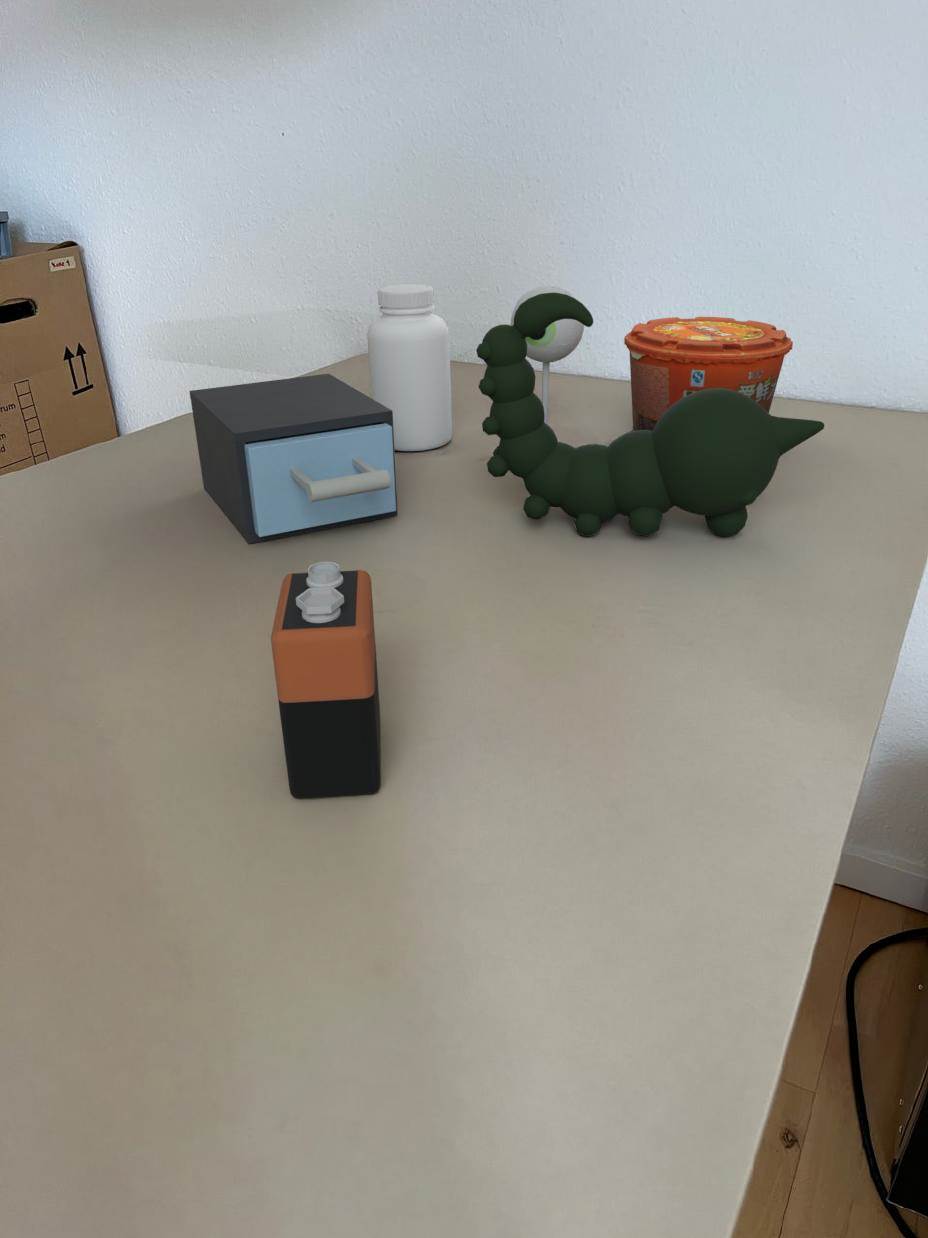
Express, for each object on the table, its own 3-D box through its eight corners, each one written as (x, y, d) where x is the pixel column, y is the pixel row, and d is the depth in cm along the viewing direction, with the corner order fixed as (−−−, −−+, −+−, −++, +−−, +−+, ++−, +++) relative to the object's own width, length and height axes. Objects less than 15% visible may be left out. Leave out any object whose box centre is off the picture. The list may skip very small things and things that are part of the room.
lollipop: (499, 445, 94) (500, 289, 87) (521, 426, 100) (524, 278, 93) (568, 452, 92) (575, 292, 85) (586, 433, 98) (594, 281, 91)
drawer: (426, 534, 72) (423, 445, 68) (282, 564, 67) (271, 470, 64) (338, 465, 87) (332, 389, 84) (215, 485, 82) (204, 406, 79)
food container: (811, 441, 94) (829, 331, 89) (700, 472, 86) (713, 353, 81) (693, 408, 106) (703, 309, 101) (585, 432, 98) (591, 326, 93)
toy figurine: (486, 559, 74) (824, 555, 68) (461, 309, 65) (845, 280, 59) (506, 516, 82) (809, 509, 76) (486, 288, 73) (826, 261, 68)
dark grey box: (397, 515, 78) (392, 410, 74) (248, 544, 73) (234, 433, 69) (336, 466, 89) (328, 373, 85) (203, 488, 84) (189, 390, 80)
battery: (289, 804, 45) (265, 617, 40) (299, 724, 51) (280, 554, 46) (381, 798, 45) (368, 612, 40) (380, 719, 51) (369, 549, 46)
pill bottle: (363, 436, 98) (353, 285, 91) (435, 426, 101) (430, 279, 94) (388, 457, 91) (380, 296, 84) (464, 446, 94) (462, 290, 87)
